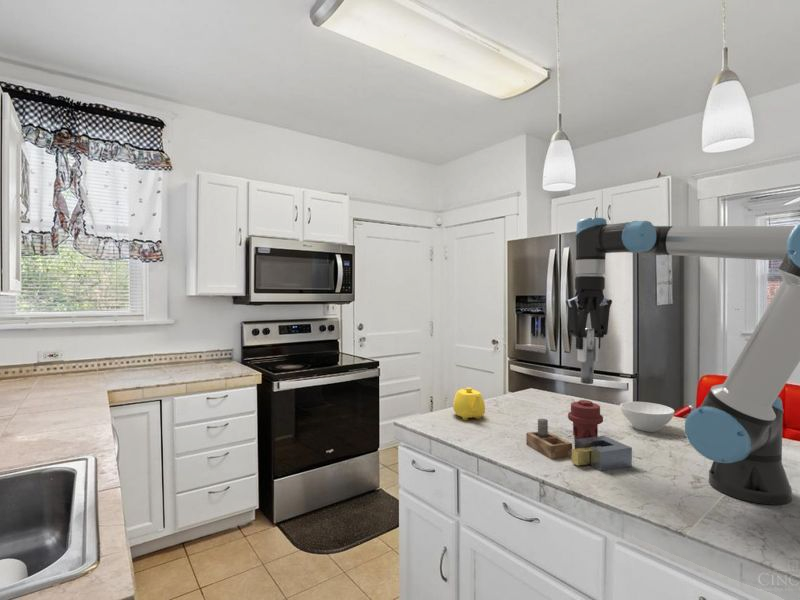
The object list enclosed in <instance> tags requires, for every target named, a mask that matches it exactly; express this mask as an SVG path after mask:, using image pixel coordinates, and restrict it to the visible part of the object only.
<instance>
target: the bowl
mask: <svg viewBox="0 0 800 600" xmlns="http://www.w3.org/2000/svg"><path fill="white" fill-rule="evenodd" d="M619 408H620V411H621V412H622V415H624V417H625V418H626V419H627V420H628V421H629V423H630V424H631V425H632V426H633V428H634V429H636V430H638V431H639V430H640V431H643V432H647V433H648V432H650V433H656V432H659V431H661V429H662V428H663V427H665V425H667V424H668V423H670V422H671V420H672V419H673V417H674V415H675V410H674V408H672V407H669V406H667V405H664V404H660V403H654V402H648V401H647V402H645V401H626V402H622V403H620V404H619Z"/></svg>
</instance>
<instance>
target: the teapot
mask: <svg viewBox="0 0 800 600" xmlns="http://www.w3.org/2000/svg"><path fill="white" fill-rule="evenodd" d="M452 404H453V405H452V407H453V408H452V409H453V411H454V413H455V414H456V416H458V417H461V420H462V421H468V420H469V418H475V419H476V420H481V419H482V417H483V416H484V415H485V414H486V405H485V401H484V398H483V396H482V393H481V392H480V391H478V390H475V389H473V387H465V388H460V389H459V390H457V391H456V393H455V396H454V399H453V403H452Z"/></svg>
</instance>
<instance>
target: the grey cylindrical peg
mask: <svg viewBox="0 0 800 600" xmlns="http://www.w3.org/2000/svg"><path fill="white" fill-rule="evenodd" d="M594 336H595V329H593V328H591V327H586V329H585V336H584V338H587V354H586V362H581V361H580V364H581V365H580V383H581V384H585V385H592V384H594V370H595V368H594V367H595V361H594Z"/></svg>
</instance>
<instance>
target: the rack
mask: <svg viewBox="0 0 800 600" xmlns="http://www.w3.org/2000/svg"><path fill="white" fill-rule="evenodd" d="M548 422H549V421H548V419H547V418H538V419H537V431H531V432H526V436H525V437H526V438H525V439H526V440H525V441H526V445H527V446H529V447H530V448H532V449H534V450H535V451H537V452H538V453H540V454H542V455H544V456H546V457H547V458H549V459H550V460H551V459H559V458H567V457H572V449H573V443H572V442H570V441H568V440H566V439H564V438H562V437H560V436H558V435H556V434H554V433H552V432H550V431H549V429H548V428H549V427H548V426H549V423H548Z"/></svg>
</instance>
